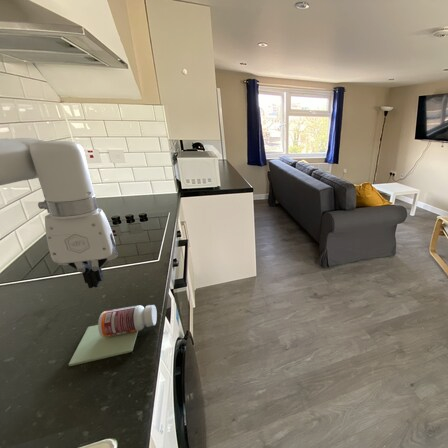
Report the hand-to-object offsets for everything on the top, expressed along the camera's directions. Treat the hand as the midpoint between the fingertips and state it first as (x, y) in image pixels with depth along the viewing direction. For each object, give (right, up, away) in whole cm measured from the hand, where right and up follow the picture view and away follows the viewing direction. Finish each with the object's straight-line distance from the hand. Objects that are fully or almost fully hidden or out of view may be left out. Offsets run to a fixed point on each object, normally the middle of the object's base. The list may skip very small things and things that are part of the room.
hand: (95, 284), depth 59 cm
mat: (-1, -15, +5) cm, 16 cm away
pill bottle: (-2, -11, +5) cm, 12 cm away
